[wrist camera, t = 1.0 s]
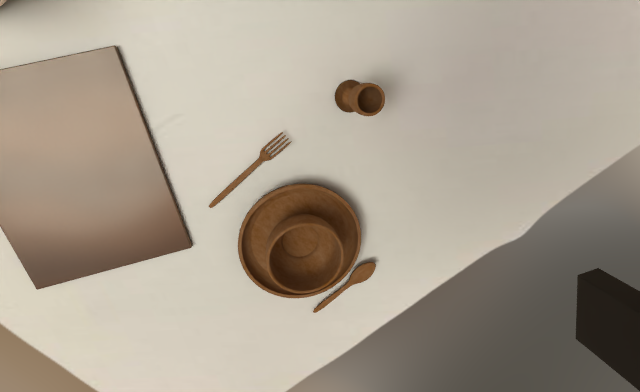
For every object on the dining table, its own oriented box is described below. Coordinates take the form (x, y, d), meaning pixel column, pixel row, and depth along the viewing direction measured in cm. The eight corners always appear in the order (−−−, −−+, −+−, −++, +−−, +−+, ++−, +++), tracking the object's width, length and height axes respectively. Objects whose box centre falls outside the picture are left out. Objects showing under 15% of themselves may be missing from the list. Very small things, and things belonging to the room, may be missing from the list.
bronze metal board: (-76, 86, 27) (-81, 86, 26) (116, 46, 28) (114, 45, 28) (39, 286, 33) (36, 289, 32) (192, 245, 34) (191, 247, 34)
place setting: (187, 217, 33) (175, 245, 28) (347, 68, 32) (368, 66, 26) (311, 322, 39) (321, 361, 34) (450, 200, 38) (484, 221, 32)
